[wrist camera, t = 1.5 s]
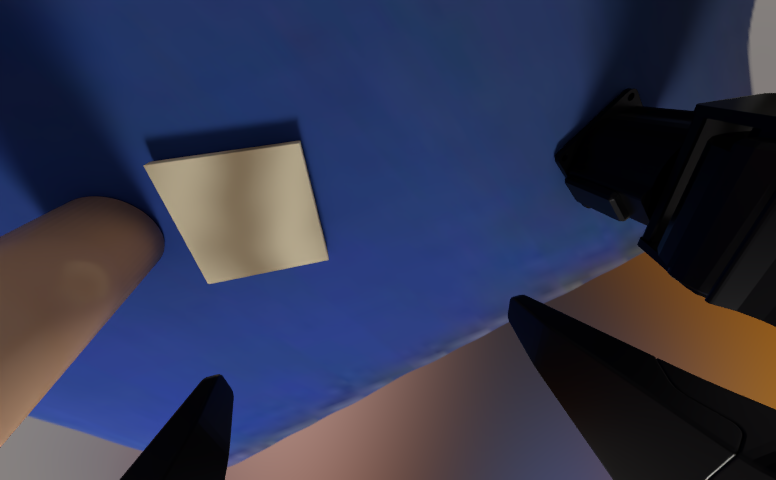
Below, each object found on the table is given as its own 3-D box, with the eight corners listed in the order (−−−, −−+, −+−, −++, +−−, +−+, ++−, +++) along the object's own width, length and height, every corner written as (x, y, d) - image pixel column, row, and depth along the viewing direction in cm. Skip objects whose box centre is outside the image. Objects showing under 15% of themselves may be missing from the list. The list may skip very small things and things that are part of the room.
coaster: (300, 140, 17) (299, 143, 16) (328, 253, 21) (328, 259, 20) (150, 161, 15) (143, 165, 15) (212, 277, 20) (208, 284, 19)
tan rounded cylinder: (77, 177, 15) (-567, 451, 4) (180, 230, 18) (-43, 488, 7) (38, 245, 16) (-547, 600, 5) (140, 285, 19) (-109, 583, 8)
